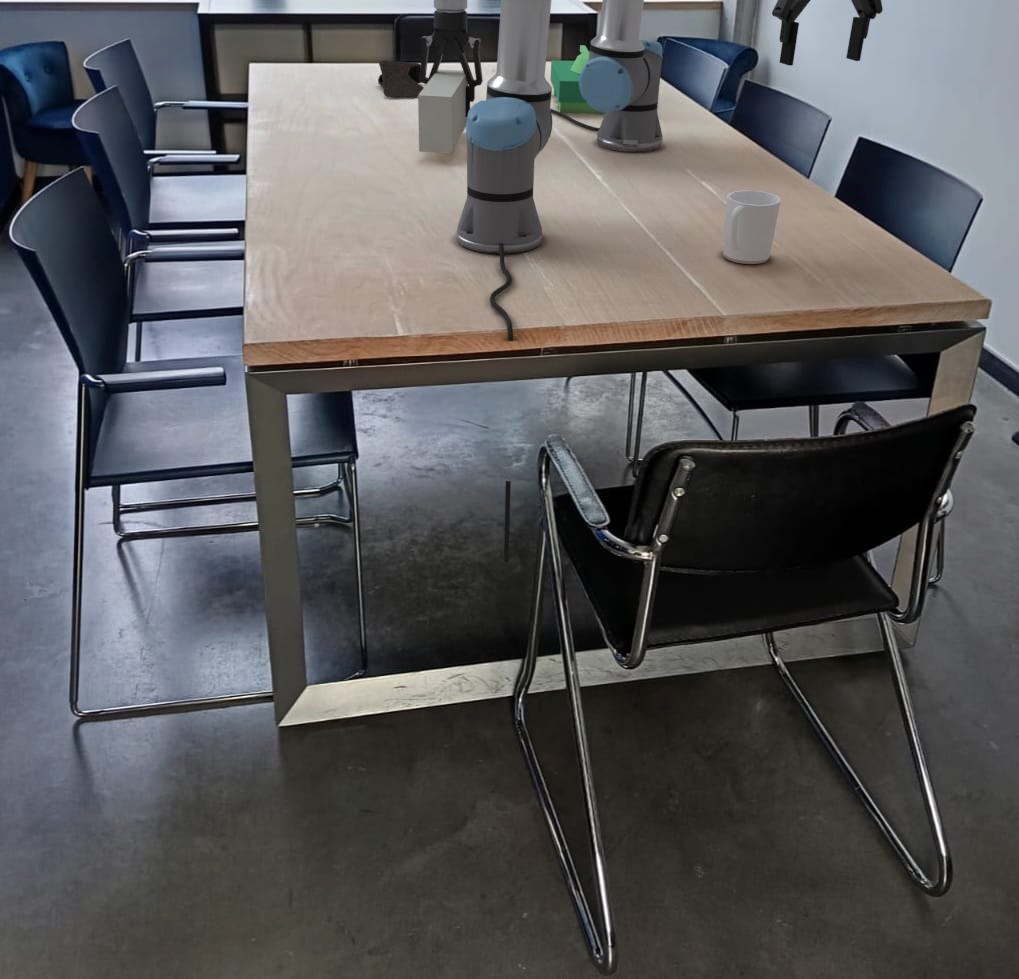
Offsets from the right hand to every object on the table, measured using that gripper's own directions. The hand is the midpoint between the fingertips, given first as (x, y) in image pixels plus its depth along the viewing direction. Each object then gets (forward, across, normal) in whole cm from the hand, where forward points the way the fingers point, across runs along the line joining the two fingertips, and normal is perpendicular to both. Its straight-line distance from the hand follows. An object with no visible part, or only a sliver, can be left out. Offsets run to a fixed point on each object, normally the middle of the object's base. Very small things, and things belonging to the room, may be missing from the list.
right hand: (451, 114), depth 258 cm
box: (+2, 0, +11) cm, 11 cm away
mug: (+4, -62, +77) cm, 99 cm away
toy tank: (+5, -31, -42) cm, 52 cm away
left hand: (-27, -71, +66) cm, 101 cm away
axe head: (+5, +20, -46) cm, 50 cm away
